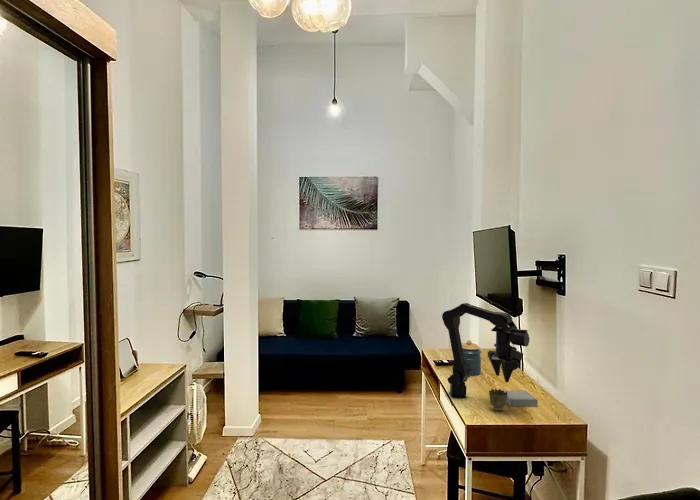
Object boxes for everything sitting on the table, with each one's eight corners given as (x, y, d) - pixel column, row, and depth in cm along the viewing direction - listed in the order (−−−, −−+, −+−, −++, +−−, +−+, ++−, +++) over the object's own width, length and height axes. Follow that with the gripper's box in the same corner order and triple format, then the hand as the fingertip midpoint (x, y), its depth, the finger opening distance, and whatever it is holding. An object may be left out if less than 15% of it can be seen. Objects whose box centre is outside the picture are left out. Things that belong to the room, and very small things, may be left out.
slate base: (510, 406, 193) (510, 399, 193) (499, 397, 205) (499, 390, 205) (537, 406, 194) (537, 399, 194) (525, 396, 206) (525, 390, 206)
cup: (485, 408, 191) (485, 389, 191) (499, 406, 194) (499, 387, 194) (496, 414, 184) (496, 395, 184) (511, 412, 187) (511, 393, 187)
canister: (455, 374, 240) (455, 341, 240) (457, 368, 252) (458, 337, 252) (480, 377, 236) (481, 343, 236) (481, 370, 248) (482, 338, 248)
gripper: (531, 347, 183) (530, 385, 183) (511, 337, 202) (510, 372, 202) (505, 347, 182) (504, 386, 182) (487, 338, 201) (486, 372, 201)
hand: (502, 378), depth 192 cm, fingers open, 9 cm apart
